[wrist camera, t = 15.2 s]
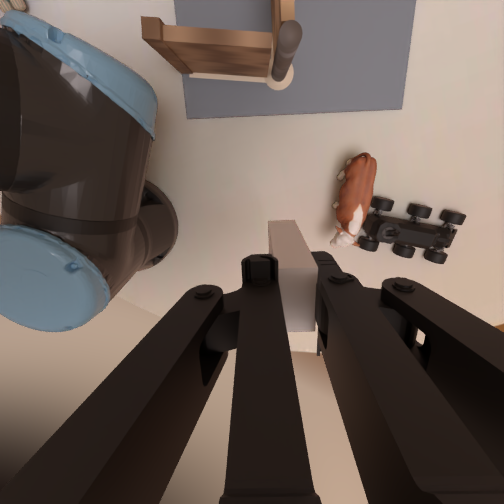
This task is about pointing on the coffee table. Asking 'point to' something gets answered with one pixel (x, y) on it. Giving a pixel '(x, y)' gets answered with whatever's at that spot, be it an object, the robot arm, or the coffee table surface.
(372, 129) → the coffee table surface
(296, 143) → the coffee table surface
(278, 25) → the fence panel
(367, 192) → the bull figurine
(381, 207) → the toy vehicle
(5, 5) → the stuffed animal
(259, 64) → the rod
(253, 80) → the board
